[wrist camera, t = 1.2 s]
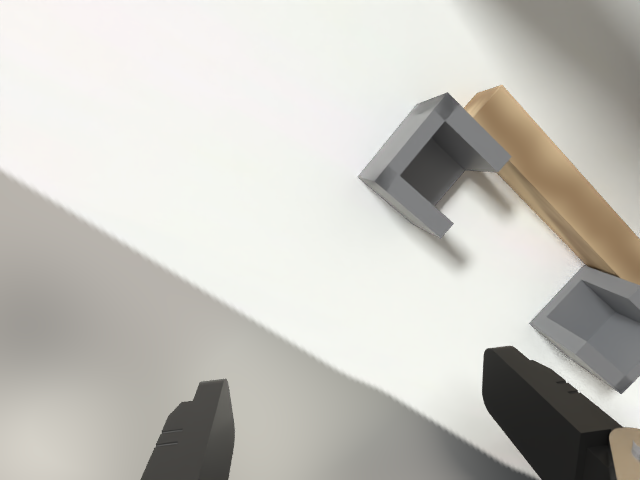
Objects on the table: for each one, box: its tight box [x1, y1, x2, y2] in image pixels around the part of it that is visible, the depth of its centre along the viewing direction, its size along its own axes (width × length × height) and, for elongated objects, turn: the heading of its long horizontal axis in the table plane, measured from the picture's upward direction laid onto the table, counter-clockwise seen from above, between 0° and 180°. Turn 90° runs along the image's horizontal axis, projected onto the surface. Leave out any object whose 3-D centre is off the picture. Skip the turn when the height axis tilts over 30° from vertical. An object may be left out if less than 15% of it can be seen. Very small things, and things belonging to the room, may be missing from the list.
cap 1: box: [358, 92, 512, 238], centre depth 29 cm, size 8×7×6 cm
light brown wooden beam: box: [464, 85, 640, 285], centre depth 33 cm, size 4×24×4 cm, turn 49°
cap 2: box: [529, 265, 640, 394], centre depth 35 cm, size 8×7×6 cm
